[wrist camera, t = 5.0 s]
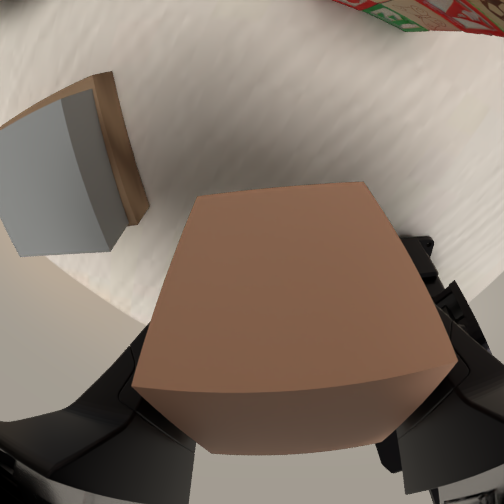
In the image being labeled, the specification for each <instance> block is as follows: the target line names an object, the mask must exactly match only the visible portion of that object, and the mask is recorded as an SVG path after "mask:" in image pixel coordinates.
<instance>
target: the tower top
mask: <svg viewBox="0 0 504 504" xmlns="http://www.w3.org/2000/svg"><path fill="white" fill-rule="evenodd" d="M0 218H1V220H2V222H3V224H4V227H5V228H6V231H7V233H8V235H9V237H10V239H11V241H12V243H13V245H14V246H15V248H16V250H17V252H18V254H19V256H20V257H27V256H44V255H61V254H78V253H96V252H111V250H112V248H113V247H114V245H115V244H116V242H117V241H118V239H119V237H120V236H121V234H122V233H123V231H124V230H125V228H126V227H127V225H128V224H129V222H128V219H127V216H126V213H125V210H124V207H123V204H122V201H121V198H120V195H119V192H118V189H117V185H116V182H115V179H114V175H113V172H112V169H111V165H110V162H109V158H108V154H107V151H106V147H105V143H104V139H103V135H102V131H101V127H100V123H99V119H98V114H97V110H96V105H95V100H94V95H93V90H92V89H89V90H86V91H82V92H79V93H76V94H73V95H70V96H68V97H65V98H62V99H59V100H57V101H55V102H53V103H51V104H49V105H46V106H44V107H42V108H40V109H38V110H36V111H34V112H32V113H30V114H28V115H27V116H25V117H23V118H21V119H19V120H17V121H16V122H14V123H12V124H10V125H9V126H7V127H5V128H4V129H2V130H0Z"/></svg>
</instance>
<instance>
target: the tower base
mask: <svg viewBox="0 0 504 504" xmlns="http://www.w3.org/2000/svg"><path fill="white" fill-rule="evenodd" d="M89 89H92V90H93V95H94V100H95V105H96V110H97V114H98V119H99V123H100V127H101V131H102V135H103V139H104V143H105V147H106V151H107V154H108V158H109V162H110V165H111V169H112V172H113V175H114V179H115V182H116V185H117V189H118V192H119V195H120V198H121V201H122V204H123V207H124V210H125V213H126V216H127V219H128V222H129V224H128V225H127V226H132V225H138V223H139V222H140V220H141V219H142V217H143V215H144V214H145V212H146V211H147V209H148V208H149V203H148V200H147V197H146V194H145V191H144V188H143V185H142V181H141V178H140V175H139V172H138V169H137V165H136V162H135V159H134V155H133V152H132V148H131V145H130V141H129V138H128V134H127V130H126V127H125V123H124V119H123V115H122V111H121V107H120V103H119V99H118V95H117V90H116V86H115V81H114V77H113V72H112V71H110V72H105V73H100V74H95V75H92V76H89V77H87V78H85V79H83V80H80V81H78V82H76V83H74V84H72V85H70V86H68V87H66V88H64V89H62V90H60V91H58V92H56V93H54V94H52V95H51V96H49V97H47V98H45V99H43V100H42V101H40V102H38V103H36V104H35V105H33V106H31V107H30V108H28V109H26V110H25V111H23V112H22V113H20V114H18V115H17V116H15V117H14V118H12V119H11V120H9V121H8V122H6V123H5V124H4V125H2V126H1V127H0V130H2V129H4V128H5V127H7V126H9V125H10V124H12V123H14V122H16V121H17V120H19V119H21V118H23V117H25V116H27V115H28V114H30V113H32V112H34V111H36V110H38V109H40V108H42V107H44V106H46V105H49V104H51V103H53V102H55V101H57V100H59V99H62V98H65V97H68V96H70V95H73V94H76V93H79V92H82V91H86V90H89Z"/></svg>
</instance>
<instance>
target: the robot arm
mask: <svg viewBox="0 0 504 504" xmlns="http://www.w3.org/2000/svg"><path fill="white" fill-rule="evenodd" d="M400 240H401V242H402V243H403V245H404V247H405V249H406V250H407V252H408V254H409V256H410V258H411V259H412V261H413V263H414V265H415V267H416V269H417V271H418V272H419V274H420V276H421V278H422V280H423V282H424V284H425V286H426V288H427V290H428V292H429V294H430V296H431V298H432V300H433V303H434V305H435V307H436V309H437V311H438V313H439V316H440V318H441V320H442V322H443V325H444V327H445V329H446V332H447V334H448V337H449V339H450V341H451V344H452V346H453V349H454V352H455V354H456V357H457V359H458V362H457V363H456V364H455V366H454V367H453V368H452V369H451V371H450V372H449V373H448V374H447V375H446V377H445V378H444V379H443V380H442V381H441V383H440V384H439V385H438V386H437V387H436V388H435V390H434V391H433V392H432V393H431V394H430V395H429V396H428V397H427V398H426V399H425V401H424V402H423V403H422V404H421V405H420V406H419V407H418V408H417V409H416V410H415V411H414V412H413V413H412V414H411V415H410V416H409V417H408V418H407V419H406V420H405V421H404V422H403V423H402V424H401V425H400V426H399V427H398V428H397V429H395V430H394V431H393V432H392V433H391V434H390V435H389V436H388V437H387V438H385V439H384V440H383V441H382V442H379V443H375V445H376V448H377V451H378V454H379V457H380V460H381V463H382V465H383V466H384V467H385V468H387V469H388V470H389V471H390V472H391V473H397V472H400V471H403V479H404V488H405V494H406V495H407V494H412V493H417V492H421V491H426V490H429V492H430V495H431V498H432V501H433V504H504V365H503V364H502V363H501V362H500V361H499V360H497V359H496V358H495V357H494V356H493V355H492V353H491V351H490V349H489V346H488V344H487V342H486V339H485V337H484V335H483V333H482V331H481V329H480V327H479V324H478V322H477V320H476V318H475V316H474V314H473V312H472V311H471V309H470V307H469V305H468V303H467V301H466V299H465V297H464V296H463V294H462V292H461V290H460V288H459V287H458V285H457V283H456V281H455V280H454V281H453V282H452V283H450V284H449V286H448V287H447V288H446V289H445V288H444V286H443V284H442V283H441V281H440V279H439V277H438V271H437V269H436V268H435V266H434V264H433V263H432V261H431V259H430V256H431V253H432V249H433V246H434V241H433V239H432V238H431V237H420V238H406V239H400ZM427 243H428V244H427ZM150 322H151V321H150ZM150 322H149V323H148V325H147V326H146V327H145V328H144V329H143V330H142V331H141V333H140V334H139V335H138V336H137V337H136V339H135V340H134V341H133V342H132V343H131V344H130V346H131V347H130V346H128V348H127V349H126V350H125V351H124V352H123V353H122V354H121V356H120V357H119V358H118V359H117V360H116V361H115V362H114V363H113V365H112V366H111V367H110V368H109V369H108V370H107V371H106V372H105V373H104V374H103V375H102V376H101V377H100V378H99V379H98V380H97V381H96V382H95V383H94V384H93V385H92V386H91V387H90V388H89V389H87V390H86V391H85V393H83V394H82V395H81V397H79V398H78V399H77V400H76V401H75V402H74V403H72V404H71V405H70V406H68V407H66V408H64V409H62V410H59V411H55V412H52V413H47V414H43V415H40V416H35V417H31V418H26V419H22V420H18V421H12V422H2V421H0V504H189V496H190V487H191V479H192V471H193V462H194V455H195V454H194V453H195V447H196V442H195V441H194V440H193V439H191V438H190V437H189V436H188V435H186V434H185V433H184V432H182V431H181V430H180V429H179V428H177V427H176V426H175V425H174V424H173V423H171V422H170V421H169V420H168V419H167V418H166V417H164V416H163V415H162V414H161V413H160V412H159V411H157V410H156V409H155V408H154V407H153V406H152V405H151V404H150V403H149V402H148V401H146V400H145V399H144V398H143V397H142V396H141V395H140V394H139V393H138V392H137V391H136V390H135V389H134V388H133V387H132V386H131V385H132V382H133V378H134V374H135V371H136V367H137V364H138V360H139V357H140V354H141V350H142V347H143V344H144V341H145V337H146V334H147V331H148V328H149V325H150Z"/></svg>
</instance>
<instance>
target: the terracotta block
mask: <svg viewBox="0 0 504 504" xmlns="http://www.w3.org/2000/svg"><path fill="white" fill-rule="evenodd" d="M457 362H458V359H457V357H456V354H455V352H454V349H453V346H452V344H451V341H450V339H449V337H448V334H447V332H446V329H445V327H444V325H443V322H442V320H441V318H440V316H439V313H438V311H437V309H436V307H435V305H434V303H433V300H432V298H431V296H430V294H429V292H428V290H427V288H426V286H425V284H424V282H423V280H422V278H421V276H420V274H419V272H418V271H417V269H416V267H415V265H414V263H413V261H412V259H411V258H410V256H409V254H408V252H407V250H406V249H405V247H404V245H403V243H402V242H401V240H400V238H399V237H398V235H397V233H396V231H395V230H394V228H393V226H392V225H391V223H390V222H389V220H388V218H387V217H386V215H385V214H384V212H383V210H382V209H381V207H380V206H379V204H378V203H377V201H376V200H375V198H374V197H373V195H372V194H371V192H370V191H369V189H368V188H367V186H366V185H365V183H364V182H345V183H327V184H312V185H299V186H286V187H275V188H264V189H254V190H245V191H236V192H227V193H219V194H211V195H203V196H197V198H196V201H195V203H194V205H193V208H192V210H191V213H190V215H189V217H188V220H187V222H186V225H185V227H184V230H183V232H182V235H181V238H180V240H179V243H178V245H177V248H176V251H175V253H174V256H173V259H172V261H171V264H170V267H169V269H168V272H167V275H166V278H165V280H164V283H163V286H162V289H161V292H160V295H159V298H158V301H157V303H156V306H155V309H154V312H153V315H152V319H151V322H150V325H149V328H148V331H147V334H146V337H145V341H144V344H143V347H142V350H141V354H140V357H139V360H138V364H137V367H136V371H135V374H134V378H133V382H132V385H131V386H132V387H133V388H134V389H135V390H136V391H137V392H138V393H139V394H140V395H141V396H142V397H143V398H144V399H145V400H146V401H148V402H149V403H150V404H151V405H152V406H153V407H154V408H155V409H156V410H157V411H159V412H160V413H161V414H162V415H163V416H164V417H166V418H167V419H168V420H169V421H170V422H171V423H173V424H174V425H175V426H176V427H177V428H179V429H180V430H181V431H182V432H184V433H185V434H186V435H188V436H189V437H190V438H191V439H193V440H194V441H195V442H197V443H198V444H199V445H201V446H202V447H203V448H205V449H206V450H208V451H209V452H210V453H212V454H227V455H288V454H303V453H314V452H323V451H332V450H339V449H347V448H353V447H358V446H364V445H369V444H375V443H379V442H382V441H383V440H384V439H385V438H387V437H388V436H389V435H390V434H391V433H392V432H393V431H394V430H395V429H397V428H398V427H399V426H400V425H401V424H402V423H403V422H404V421H405V420H406V419H407V418H408V417H409V416H410V415H411V414H412V413H413V412H414V411H415V410H416V409H417V408H418V407H419V406H420V405H421V404H422V403H423V402H424V401H425V399H426V398H427V397H428V396H429V395H430V394H431V393H432V392H433V391H434V390H435V388H436V387H437V386H438V385H439V384H440V383H441V381H442V380H443V379H444V378H445V377H446V375H447V374H448V373H449V372H450V371H451V369H452V368H453V367H454V366H455V364H456V363H457Z"/></svg>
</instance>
